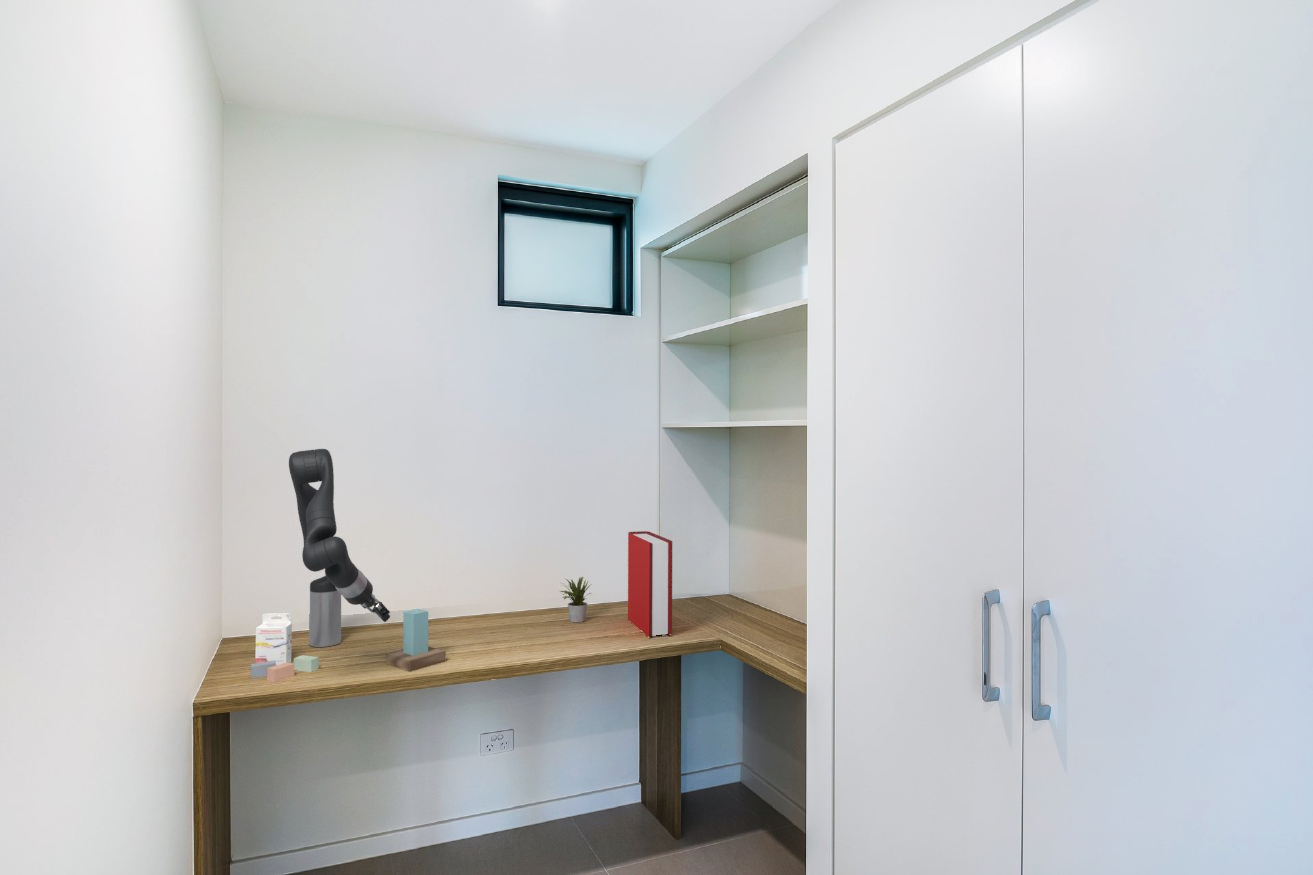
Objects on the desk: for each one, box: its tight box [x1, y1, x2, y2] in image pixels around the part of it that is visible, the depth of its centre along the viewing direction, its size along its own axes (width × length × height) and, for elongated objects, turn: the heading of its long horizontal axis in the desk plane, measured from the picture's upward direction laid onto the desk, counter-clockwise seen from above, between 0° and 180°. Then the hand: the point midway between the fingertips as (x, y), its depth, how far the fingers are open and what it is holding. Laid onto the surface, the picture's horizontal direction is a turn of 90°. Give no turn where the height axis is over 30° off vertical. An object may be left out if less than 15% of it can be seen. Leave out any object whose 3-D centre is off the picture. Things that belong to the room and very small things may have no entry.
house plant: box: [559, 576, 591, 623], centre depth 268 cm, size 14×14×16 cm
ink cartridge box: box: [254, 612, 293, 665], centre depth 214 cm, size 9×5×15 cm, turn 99°
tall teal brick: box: [402, 608, 429, 656], centre depth 217 cm, size 5×5×12 cm
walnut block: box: [385, 645, 447, 672], centre depth 217 cm, size 12×12×3 cm
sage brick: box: [293, 654, 320, 673], centre depth 210 cm, size 6×3×4 cm, turn 74°
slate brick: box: [250, 661, 276, 679], centre depth 205 cm, size 6×3×4 cm, turn 121°
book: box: [627, 530, 673, 638], centre depth 258 cm, size 27×8×32 cm, turn 18°
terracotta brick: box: [266, 662, 295, 683], centre depth 202 cm, size 6×3×4 cm, turn 153°
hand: (376, 612), depth 213 cm, fingers open, 8 cm apart
